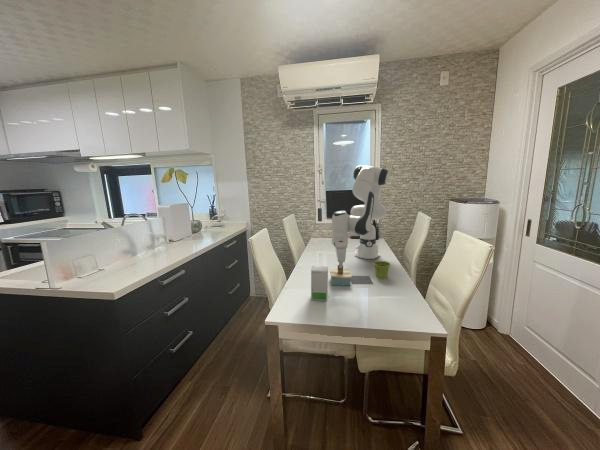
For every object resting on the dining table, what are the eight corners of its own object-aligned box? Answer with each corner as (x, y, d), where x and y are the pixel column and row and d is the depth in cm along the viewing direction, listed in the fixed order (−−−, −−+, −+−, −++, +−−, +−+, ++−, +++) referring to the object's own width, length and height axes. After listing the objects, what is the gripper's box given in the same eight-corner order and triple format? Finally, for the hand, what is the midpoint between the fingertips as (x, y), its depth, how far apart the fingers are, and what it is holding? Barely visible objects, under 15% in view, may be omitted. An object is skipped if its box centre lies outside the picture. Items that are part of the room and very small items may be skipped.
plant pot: (391, 281, 143) (391, 266, 142) (373, 280, 145) (374, 265, 144) (388, 274, 152) (389, 261, 151) (372, 274, 154) (372, 260, 153)
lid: (330, 271, 148) (330, 262, 147) (348, 271, 147) (348, 262, 146) (331, 278, 137) (331, 269, 136) (351, 278, 136) (351, 268, 135)
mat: (348, 276, 151) (348, 275, 151) (369, 276, 151) (369, 275, 150) (351, 285, 140) (351, 284, 140) (373, 285, 139) (373, 284, 139)
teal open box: (331, 279, 148) (330, 271, 147) (348, 279, 148) (348, 271, 147) (332, 286, 138) (332, 278, 137) (350, 286, 138) (350, 278, 137)
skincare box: (310, 300, 124) (310, 270, 121) (312, 294, 130) (311, 265, 127) (327, 301, 122) (327, 271, 119) (328, 295, 129) (327, 266, 126)
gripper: (333, 236, 149) (333, 258, 152) (335, 245, 129) (335, 271, 132) (343, 236, 149) (343, 258, 151) (347, 245, 129) (347, 270, 131)
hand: (339, 264), depth 141 cm, fingers open, 8 cm apart
